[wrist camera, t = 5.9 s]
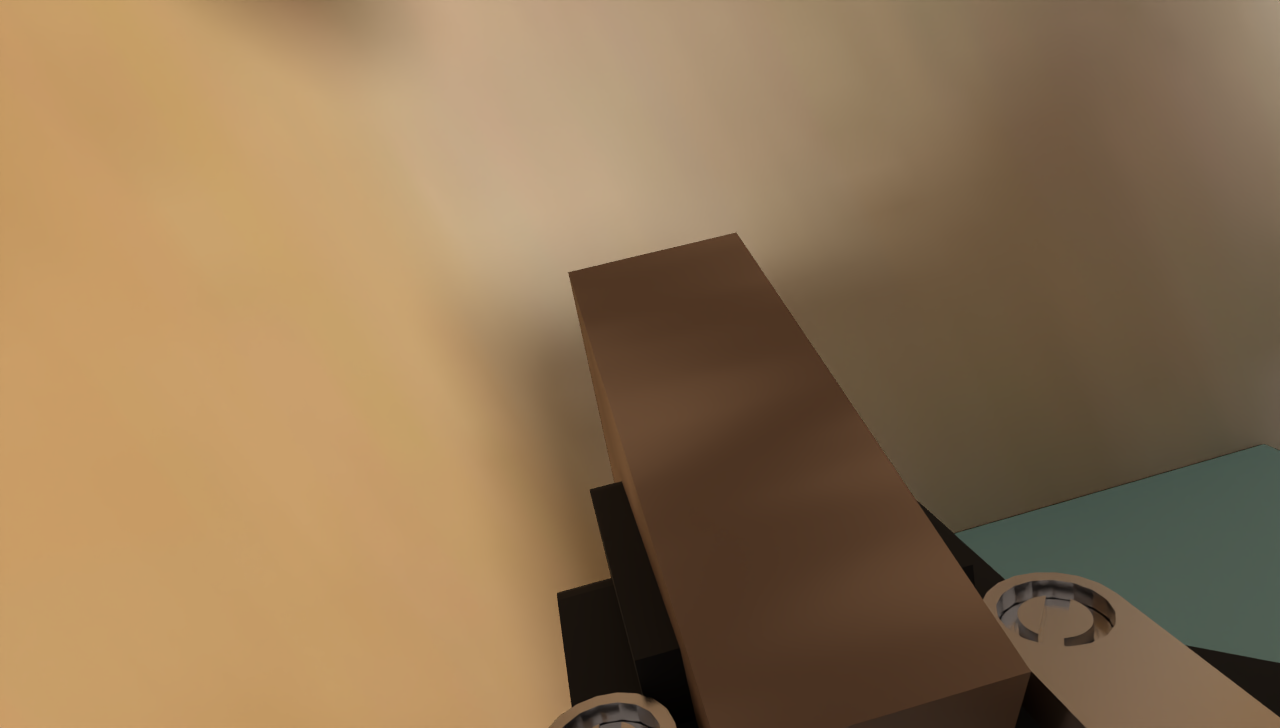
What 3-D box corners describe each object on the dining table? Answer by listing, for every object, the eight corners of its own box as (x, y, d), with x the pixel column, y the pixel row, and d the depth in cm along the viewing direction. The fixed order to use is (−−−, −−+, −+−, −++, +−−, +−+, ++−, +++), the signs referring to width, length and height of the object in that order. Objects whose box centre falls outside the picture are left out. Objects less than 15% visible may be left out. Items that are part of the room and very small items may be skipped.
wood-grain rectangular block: (736, 232, 12) (1030, 672, 6) (755, 516, 15) (951, 946, 10) (568, 272, 11) (722, 763, 6) (629, 550, 15) (759, 1010, 10)
